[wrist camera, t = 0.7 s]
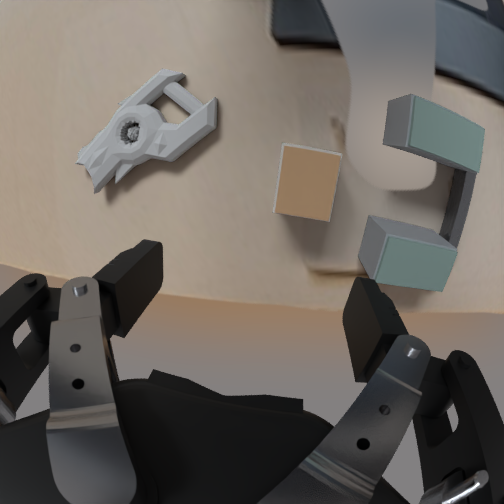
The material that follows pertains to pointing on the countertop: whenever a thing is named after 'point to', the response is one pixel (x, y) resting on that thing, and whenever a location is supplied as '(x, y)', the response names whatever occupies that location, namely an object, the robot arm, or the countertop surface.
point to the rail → (457, 206)
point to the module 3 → (406, 255)
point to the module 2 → (434, 133)
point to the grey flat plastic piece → (146, 130)
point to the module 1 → (306, 182)
